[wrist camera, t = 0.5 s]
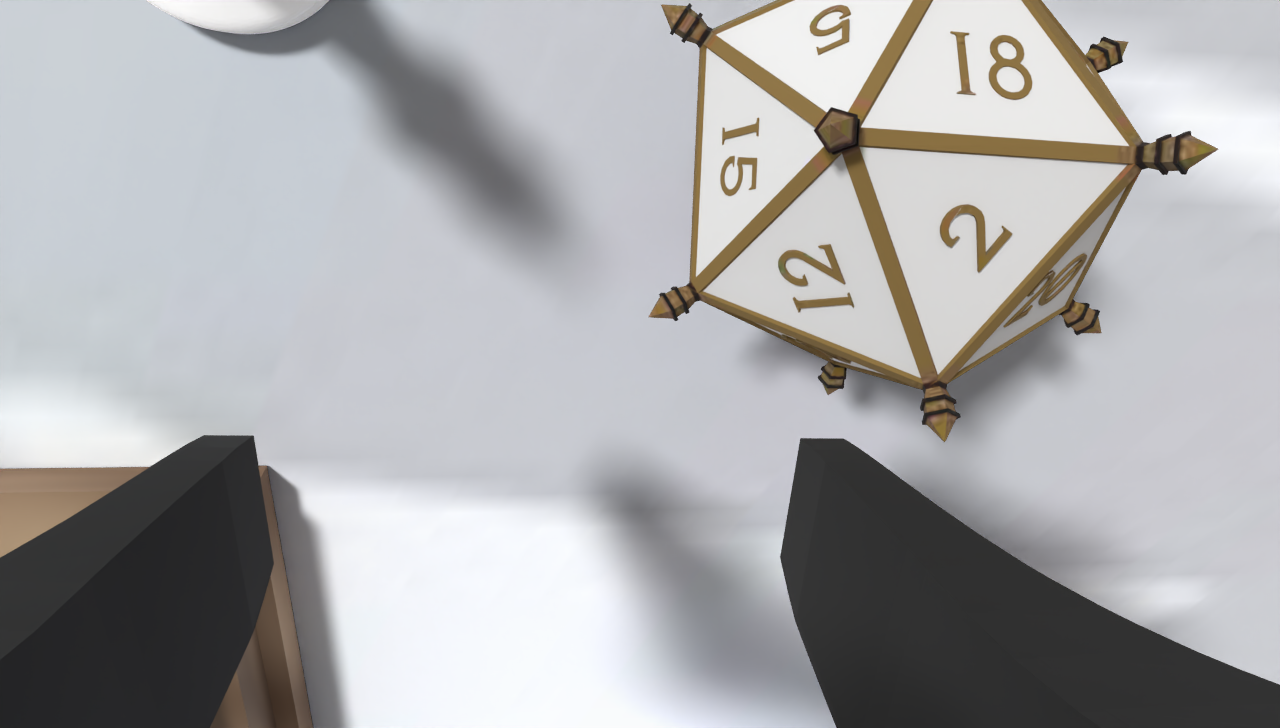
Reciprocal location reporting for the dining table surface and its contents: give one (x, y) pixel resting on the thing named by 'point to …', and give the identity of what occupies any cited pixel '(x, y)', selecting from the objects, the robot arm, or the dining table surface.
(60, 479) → the chute
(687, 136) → the dining table surface
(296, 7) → the chess piece
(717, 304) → the game die
